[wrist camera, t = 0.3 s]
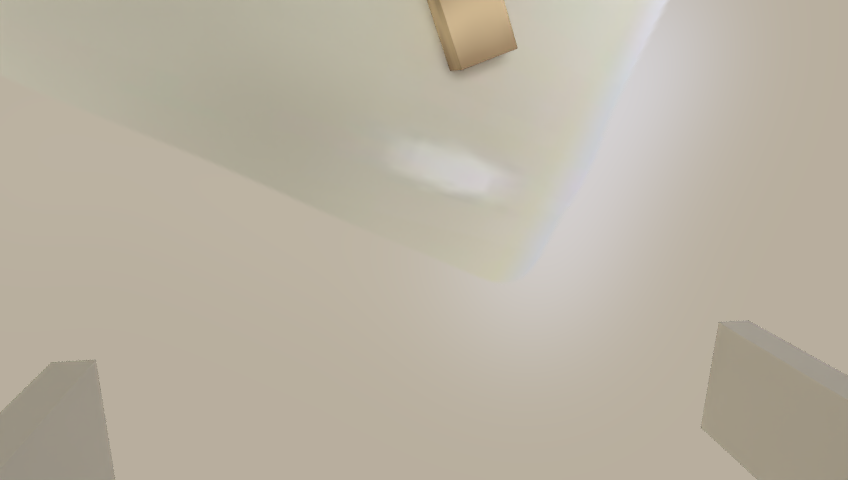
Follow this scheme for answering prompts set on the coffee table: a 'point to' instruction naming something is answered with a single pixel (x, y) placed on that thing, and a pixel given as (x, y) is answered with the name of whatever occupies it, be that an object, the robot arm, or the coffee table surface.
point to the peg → (472, 30)
